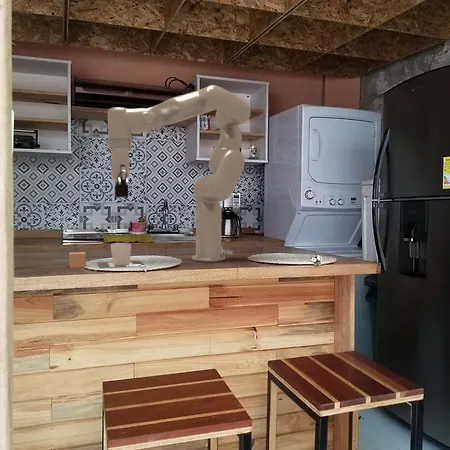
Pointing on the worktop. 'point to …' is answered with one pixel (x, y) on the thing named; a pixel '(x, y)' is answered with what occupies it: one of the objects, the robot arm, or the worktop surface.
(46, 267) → the worktop surface
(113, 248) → the beige tapered cup
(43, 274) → the worktop surface
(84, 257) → the terracotta block
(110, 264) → the letter mat
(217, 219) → the robot arm
